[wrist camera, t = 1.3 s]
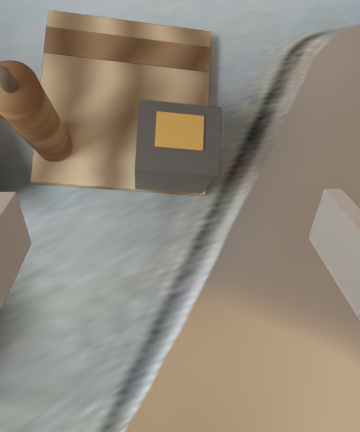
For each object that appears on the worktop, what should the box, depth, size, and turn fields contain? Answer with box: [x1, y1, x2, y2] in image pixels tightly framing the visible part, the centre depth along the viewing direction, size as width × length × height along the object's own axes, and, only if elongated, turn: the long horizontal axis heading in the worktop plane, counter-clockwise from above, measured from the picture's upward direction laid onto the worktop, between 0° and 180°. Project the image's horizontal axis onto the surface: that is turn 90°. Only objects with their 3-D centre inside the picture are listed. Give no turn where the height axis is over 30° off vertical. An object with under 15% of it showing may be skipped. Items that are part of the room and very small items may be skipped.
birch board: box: [30, 10, 211, 196], centre depth 36 cm, size 18×19×1 cm
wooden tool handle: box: [0, 61, 73, 162], centre depth 27 cm, size 4×4×14 cm
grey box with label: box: [135, 99, 221, 194], centre depth 31 cm, size 7×6×8 cm
